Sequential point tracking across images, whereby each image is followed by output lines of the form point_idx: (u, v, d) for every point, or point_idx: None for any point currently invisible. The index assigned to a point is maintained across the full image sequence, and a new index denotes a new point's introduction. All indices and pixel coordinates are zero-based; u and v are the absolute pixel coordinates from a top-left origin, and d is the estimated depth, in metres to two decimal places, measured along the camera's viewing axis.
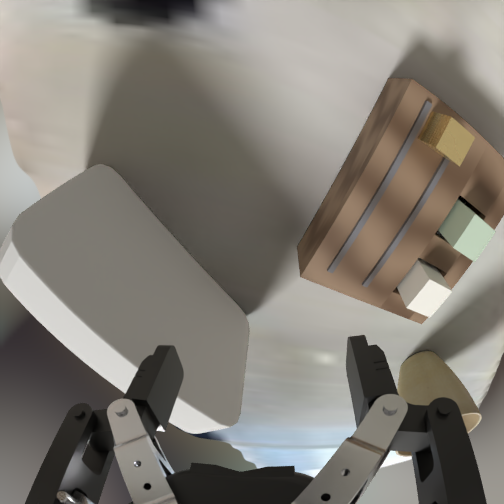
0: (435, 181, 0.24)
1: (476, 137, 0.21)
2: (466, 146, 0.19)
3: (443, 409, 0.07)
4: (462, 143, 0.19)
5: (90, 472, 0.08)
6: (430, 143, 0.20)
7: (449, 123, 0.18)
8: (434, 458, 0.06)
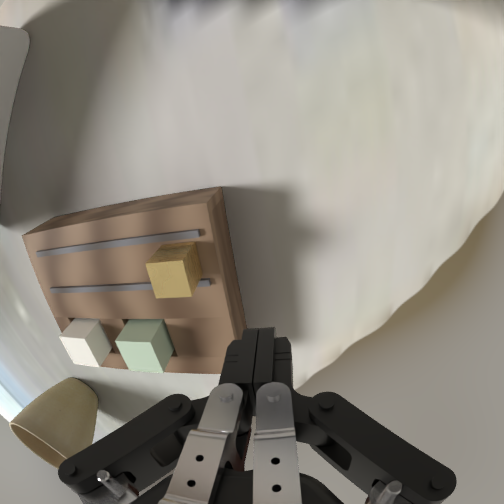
0: (147, 287, 0.26)
1: (220, 301, 0.26)
2: (176, 293, 0.22)
3: (326, 404, 0.09)
4: (174, 287, 0.22)
5: (153, 462, 0.08)
6: (151, 257, 0.22)
7: (174, 262, 0.21)
8: (346, 448, 0.07)
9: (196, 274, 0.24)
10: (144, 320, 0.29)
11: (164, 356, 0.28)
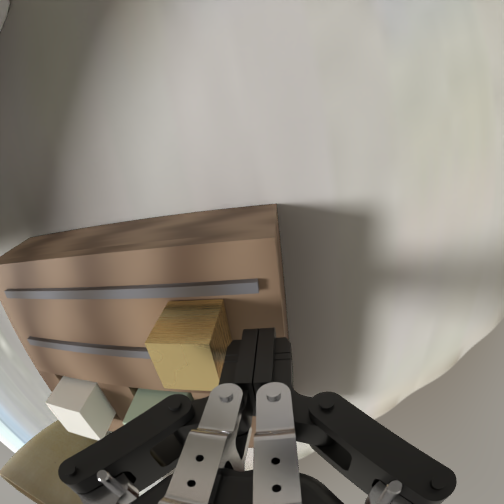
0: None
1: None
2: (196, 385, 0.13)
3: (326, 404, 0.09)
4: (193, 379, 0.13)
5: (154, 462, 0.08)
6: (154, 329, 0.13)
7: (195, 346, 0.12)
8: (346, 448, 0.07)
9: None
10: None
11: None
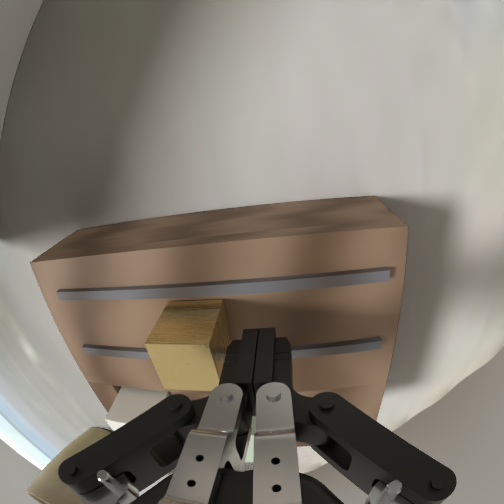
0: None
1: (382, 364, 0.16)
2: (196, 385, 0.13)
3: (326, 404, 0.09)
4: (193, 379, 0.13)
5: (153, 462, 0.08)
6: (154, 329, 0.13)
7: (195, 346, 0.12)
8: (346, 448, 0.07)
9: None
10: None
11: None
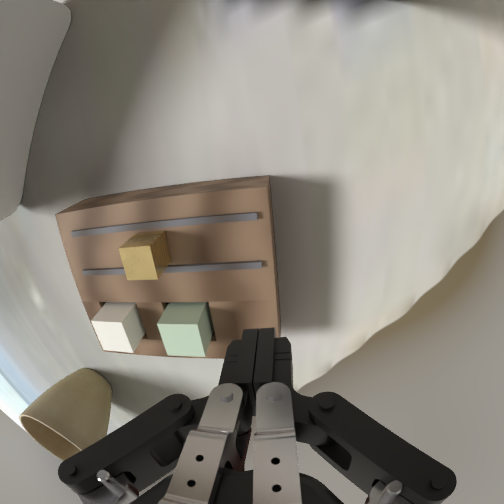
0: (196, 268, 0.27)
1: (269, 283, 0.28)
2: (144, 275, 0.24)
3: (326, 404, 0.09)
4: (142, 270, 0.24)
5: (154, 462, 0.08)
6: (125, 243, 0.24)
7: (143, 247, 0.23)
8: (346, 448, 0.07)
9: (164, 260, 0.26)
10: (185, 304, 0.30)
11: (206, 340, 0.29)
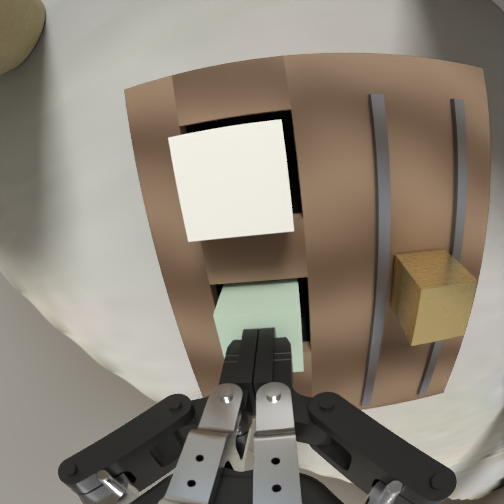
0: (375, 343, 0.16)
1: None
2: (422, 324, 0.11)
3: (326, 404, 0.09)
4: (431, 322, 0.11)
5: (154, 462, 0.08)
6: None
7: (465, 325, 0.11)
8: (346, 448, 0.07)
9: None
10: None
11: None
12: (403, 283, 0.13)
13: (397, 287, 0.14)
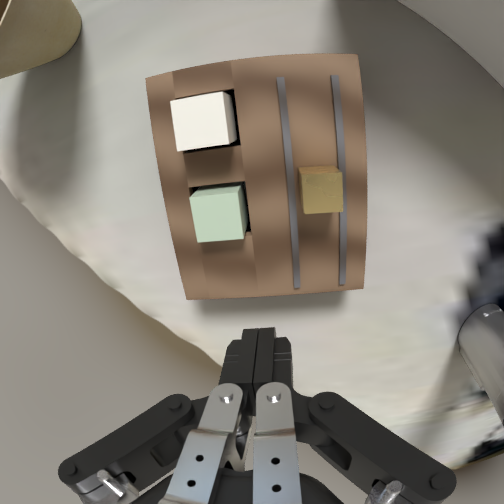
0: (293, 229, 0.26)
1: (275, 291, 0.30)
2: (308, 198, 0.22)
3: (326, 404, 0.09)
4: (314, 197, 0.22)
5: (153, 462, 0.08)
6: None
7: (341, 203, 0.22)
8: (346, 448, 0.07)
9: None
10: (244, 203, 0.28)
11: None
12: (300, 180, 0.23)
13: (299, 185, 0.24)
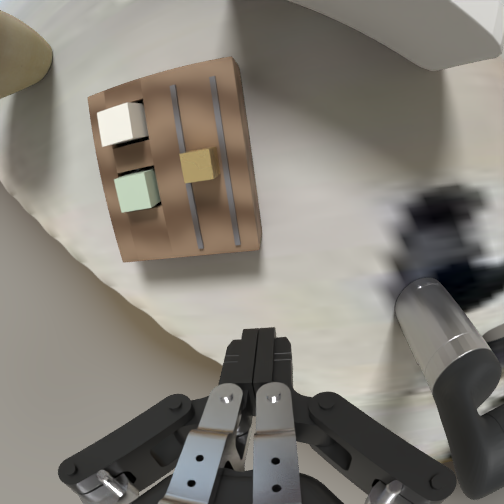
0: (190, 199, 0.33)
1: (185, 252, 0.36)
2: (186, 171, 0.29)
3: (326, 404, 0.09)
4: (190, 170, 0.29)
5: (154, 462, 0.08)
6: (211, 149, 0.29)
7: (211, 172, 0.29)
8: (346, 448, 0.07)
9: None
10: None
11: None
12: None
13: None
